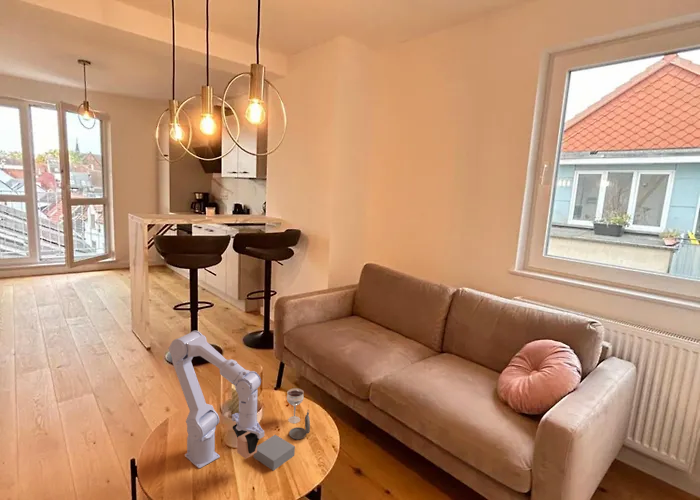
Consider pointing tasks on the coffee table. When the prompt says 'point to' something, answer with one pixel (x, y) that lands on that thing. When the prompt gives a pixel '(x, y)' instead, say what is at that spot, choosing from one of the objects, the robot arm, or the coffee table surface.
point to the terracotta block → (243, 446)
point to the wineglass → (295, 402)
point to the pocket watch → (301, 429)
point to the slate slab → (274, 452)
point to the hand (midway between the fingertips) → (247, 448)
